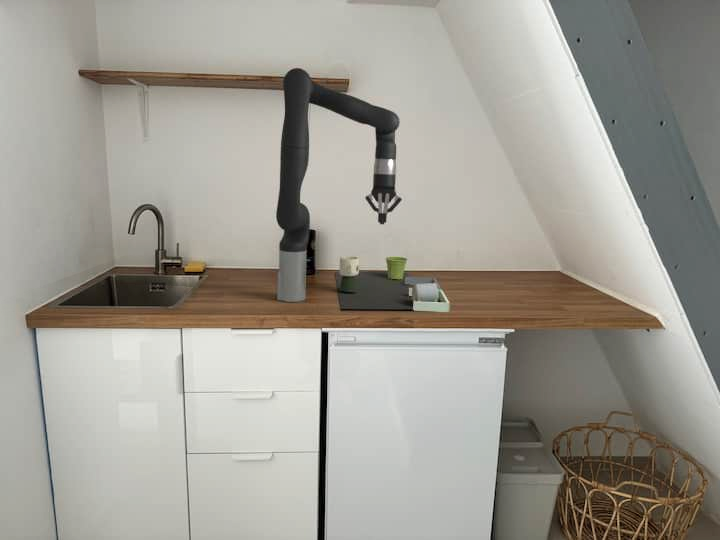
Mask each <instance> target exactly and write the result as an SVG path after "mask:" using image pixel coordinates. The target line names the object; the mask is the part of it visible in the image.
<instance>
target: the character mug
mask: <svg viewBox="0 0 720 540" xmlns="http://www.w3.org/2000/svg"><path fill="white" fill-rule="evenodd" d="M359 267H360V257H357V256H353V255H352V256H348V255H344V256H340V257H339V274H338V275H340V276H341V280H340V286H339V291H340V292H344V293H345V292H347V294H349V293H357V290H358V289H357V279H356V276H357V275H359V272H360V268H359Z"/></svg>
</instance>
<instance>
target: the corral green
mask: <svg viewBox="0 0 720 540" xmlns="http://www.w3.org/2000/svg"><path fill="white" fill-rule="evenodd" d="M412 288H413V287H408V294H409V296H412ZM409 296H408V297H409ZM438 300H440V302H439V301H438V302H420V301H413V300H412V303H413V305H412V306H413V307H412V311H413V310H414V312H415V311H417V312H438V313H450V307H451V302H450V301H449V299H448V298H447V296H446V295H445V293H444V291H443V289H442V290H438Z"/></svg>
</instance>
